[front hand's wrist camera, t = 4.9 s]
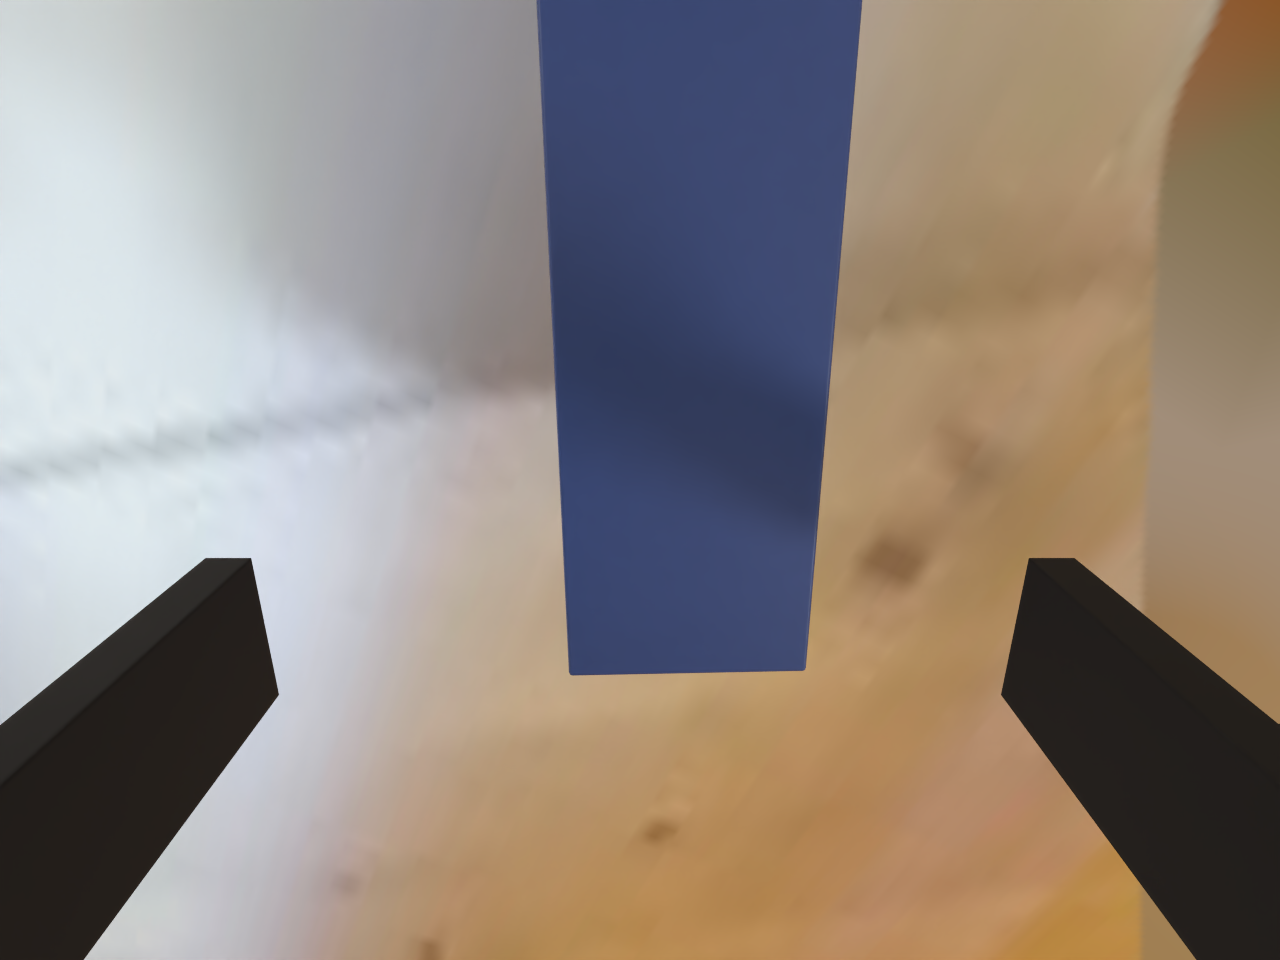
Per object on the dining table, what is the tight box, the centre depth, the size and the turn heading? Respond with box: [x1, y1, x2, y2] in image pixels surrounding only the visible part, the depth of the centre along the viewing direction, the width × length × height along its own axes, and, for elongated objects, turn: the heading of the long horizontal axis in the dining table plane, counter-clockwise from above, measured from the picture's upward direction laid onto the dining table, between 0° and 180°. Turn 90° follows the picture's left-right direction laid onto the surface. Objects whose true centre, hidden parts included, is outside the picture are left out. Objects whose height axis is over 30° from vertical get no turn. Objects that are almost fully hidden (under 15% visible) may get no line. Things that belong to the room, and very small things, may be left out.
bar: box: [537, 0, 862, 675], centre depth 16 cm, size 28×5×9 cm, turn 0°
